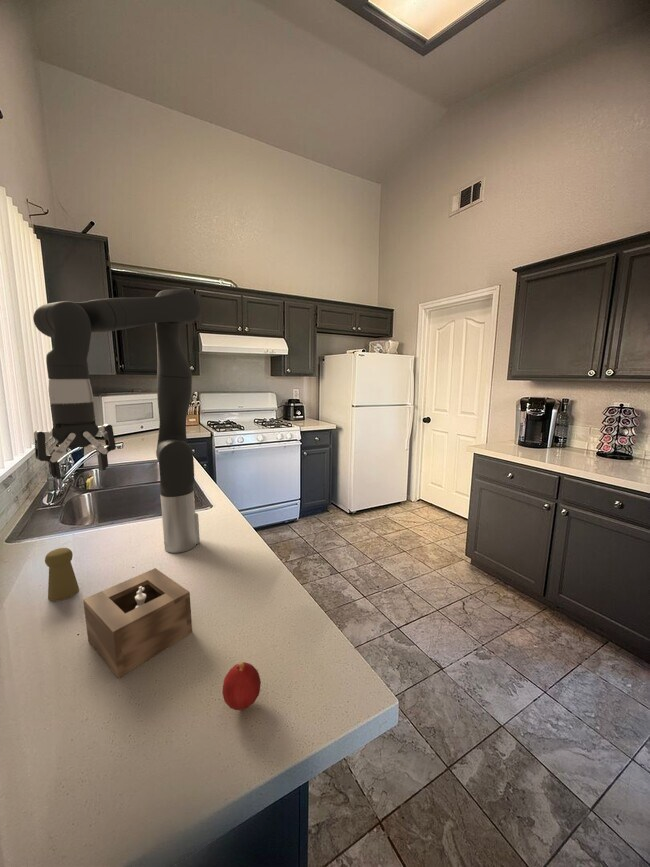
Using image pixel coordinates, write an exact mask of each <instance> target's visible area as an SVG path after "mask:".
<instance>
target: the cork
mask: <svg viewBox="0 0 650 867" xmlns="http://www.w3.org/2000/svg"><path fill="white" fill-rule="evenodd" d="M73 554H74V553H73V551H72V550H71V549H70V548H68V547H60V548H55V549H53V550H50V551H49V552H48V553H46V554H45V555H46V556H45V557H44V562H45V564H46V567H48V585H47V586H48V588H47V599H48V601H51V602H59V601H64V600H66V599H69V598H71V597H73V596H75V595H76V594H77V593H78V592H79V590H80V587H79V583H78V580H77V577H76V573H75V570H74V568H73V564H72V560H73Z"/></svg>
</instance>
